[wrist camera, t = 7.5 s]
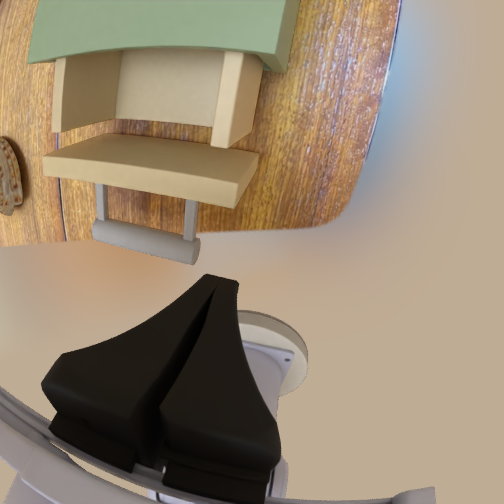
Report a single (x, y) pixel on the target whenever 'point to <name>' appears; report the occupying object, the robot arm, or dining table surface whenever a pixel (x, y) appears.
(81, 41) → the cabinet
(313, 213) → the dining table surface
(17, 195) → the seashell
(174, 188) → the drawer
